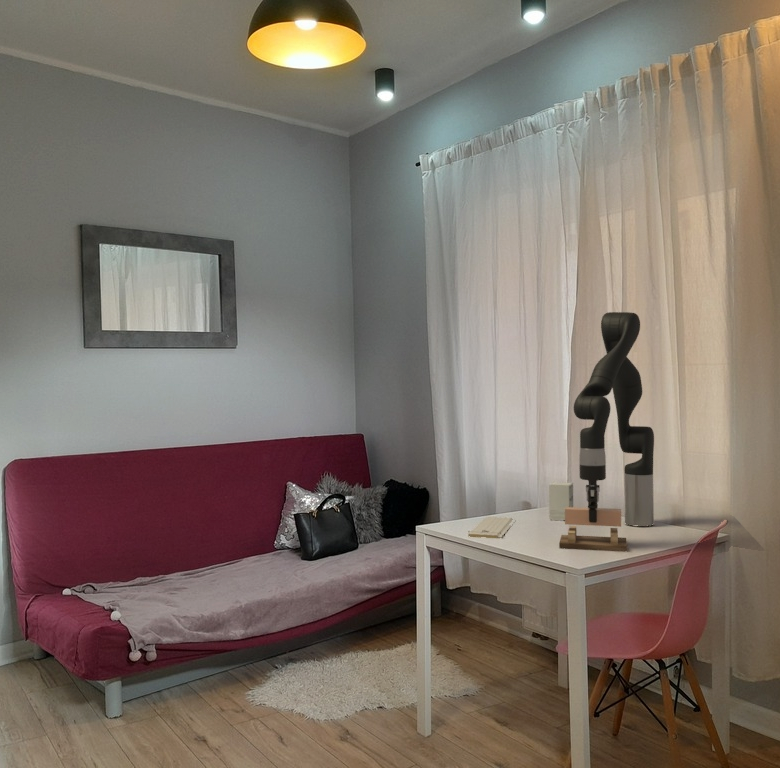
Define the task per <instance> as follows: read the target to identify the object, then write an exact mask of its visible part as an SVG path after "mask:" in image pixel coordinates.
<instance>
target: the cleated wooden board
mask: <svg viewBox="0 0 780 768" xmlns="http://www.w3.org/2000/svg"><path fill="white" fill-rule="evenodd" d="M627 542H628V541H627V537H619V531H618V527H610V536H597V535H596V536H595V535H594V536H592V535H577V525H572V526H571V525H569V527H568V532H567V534H561V536H560V540H559V544H558V548H559V549H564V548H565V549H568V550H569V549H570V550H585V551H586V550H587V551H605V552H606V551H610V552H625V551H627V552H628V543H627Z"/></svg>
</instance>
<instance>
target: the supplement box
mask: <svg viewBox="0 0 780 768" xmlns="http://www.w3.org/2000/svg"><path fill="white" fill-rule="evenodd" d="M565 507H574V483H573V482H563V481H562V482H561V481H559V482H558V481H557V482H555V481H553V482H552V483H550V484H548V519H553V520H552V521H559V520H565Z"/></svg>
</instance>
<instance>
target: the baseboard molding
mask: <svg viewBox="0 0 780 768" xmlns="http://www.w3.org/2000/svg"><path fill="white" fill-rule="evenodd" d="M485 517H486V518H485ZM485 517H484V518H483V519H482V520H481V521H480V522H478V524H477V525H476V526H475V527H474V528H472V530H471V531H470V530H468V533H467V534H468V535H467V536H468V537H469V536H470V537H469V538H481V537H486V538H485V539H500V538H502V539H504V537H505V535H506V534H507V532H508V531H509V530H510V529H509V528H511V527H512V526H511V525H509V524H510V523H511V522H512V520H513V519H514V518H512V517H500V516H499V517H497V516H485ZM510 526H511V527H510ZM508 529H509V530H508ZM507 530H508V531H507ZM505 533H506V534H505ZM504 534H505V535H504Z"/></svg>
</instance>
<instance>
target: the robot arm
mask: <svg viewBox="0 0 780 768" xmlns="http://www.w3.org/2000/svg"><path fill="white" fill-rule="evenodd" d="M600 329H601V330H600V331H601V336H602V341H603V344H604V348H605V351H606V352H605V353H606V354H605V355H604V356H603V357H602V358H601V359H599V360H598V361H597V363H596V364H595V366H594V368H593V370H592V373H591V375H590V378H589V381H588V382H587V384H586V385H585V386H584V387H583V389H582V390H581V392H579V394H578V395H577V397H576V398H575V401H574V403H573V413H574V415H575V417H576V418H578V419H579V420H585V421H587V420H589V421H593V423H592V426H590V427H589V426H588V427H584V428H582V429H581V430H580V432H579V441H580V442H579V444H580V445H579V448H580V449H579V479H580V480H583V481H588V484H586V485H585V492H586V501H587V503H588V504H587V508H589V522H591V523H596V522H597V509H598V508H599V507H598V503H599V501H600V486H601V485H600V484H597V483H598V482H599V481H604V480H606V478H607V473H606V468H607V467H606V466H607V465H606V463H607V462H606V461H607V460H606V458H607V457H606V456H607V455H606V451H605V450H606V449H605V434H606V430H607V426H608V421H609V418H610V414H611V404H610V400H608V398H607V397H606V396H608V395H609V394H610V393H611V392H612V393H613V399H614V404H615V410H616V418H617V431H618V439H619V441H618V442H619V447H620V450H621V451H622V452H623V453H624V454H636V455H637V454H641V458H640V459H638V460H637V461H634V462H631V463H628V464H626V465H624V469H623V470H624V523H626V524H629V525H628V526H630V525H638V526H647V525H652V524H653V523H654V520H655V519H654V518H655V517H654V515H655V513H654V510H655V509H654V507H655V505H654V449H655V448H654V447H655V434H654V430H653V428H652V427H650V426H638V425H637V426H635V425H633V426H632V425H631V424H630V418H631V415H632V414H633V411H634V410H635V408H636V407H637V405H638V403H640V400H641V399H642V395H643V386H642V385H643V384H642V378H641V374H640V372H639V370H638V368H637V367H636V366H635V365H634V364H633V362H632V361H631V360H630V359H629V358H628V355H629V353H630V351H631V350H632V348H633V347H634V344H635V343H636V341H637V339H638V337H639V334H640V330H641V320H640V318H639V315H638V314H637V313H636V312H630V311H629V312H628V311H627V312H626V311H625V312H624V311H622V312H621V311H618V312H617V311H616V312H612V311H611V312H610V311H609V312H606V313H604V314H603V315H602V317H601V322H600ZM626 524H625V525H626Z"/></svg>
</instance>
